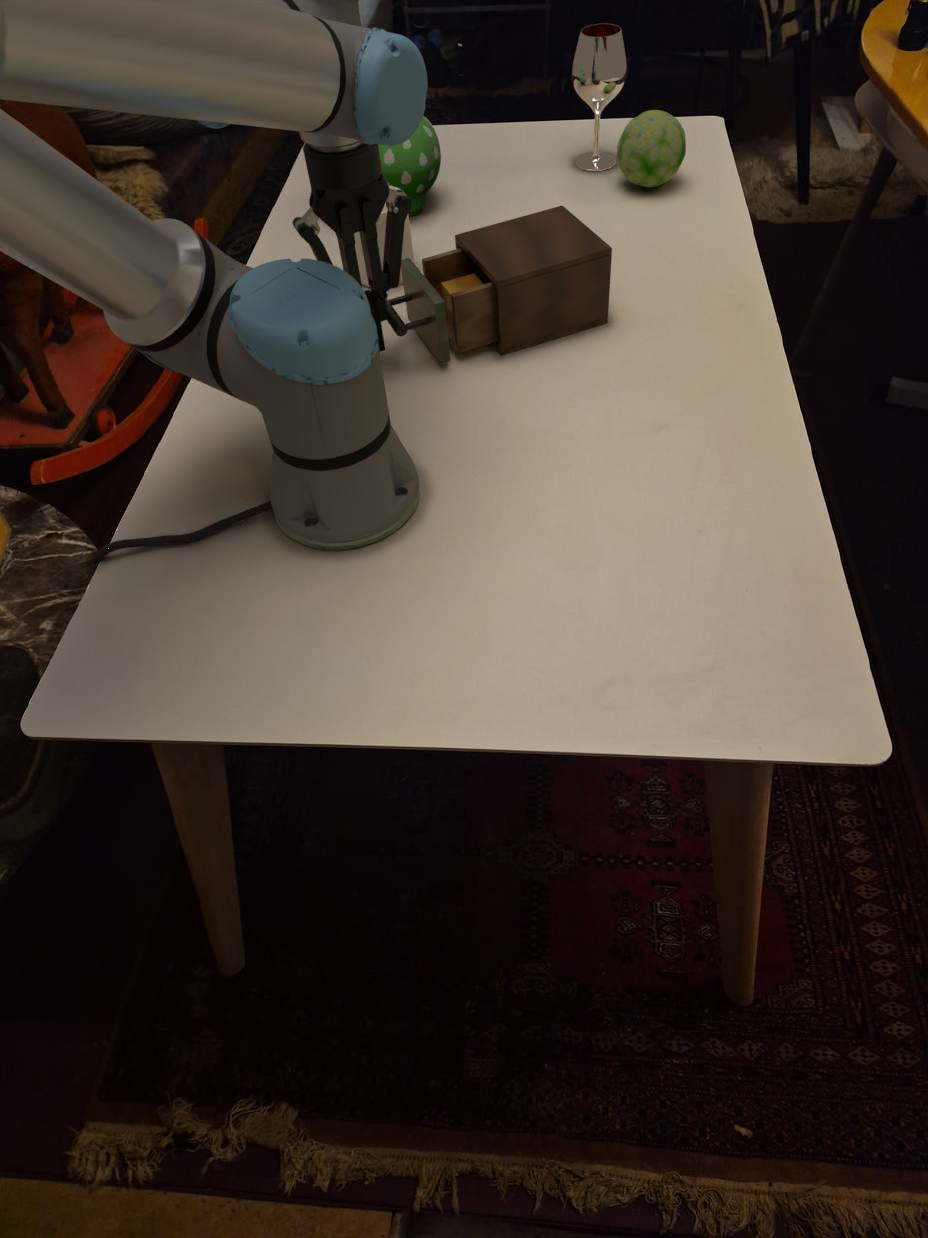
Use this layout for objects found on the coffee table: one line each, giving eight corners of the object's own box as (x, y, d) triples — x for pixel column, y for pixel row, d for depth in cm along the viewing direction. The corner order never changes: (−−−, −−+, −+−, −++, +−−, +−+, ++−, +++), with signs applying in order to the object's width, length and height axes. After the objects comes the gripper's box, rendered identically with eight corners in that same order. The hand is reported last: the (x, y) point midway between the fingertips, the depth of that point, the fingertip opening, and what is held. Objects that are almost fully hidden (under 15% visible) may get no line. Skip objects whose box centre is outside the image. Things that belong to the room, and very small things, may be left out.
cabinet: (500, 355, 103) (497, 281, 96) (460, 307, 111) (454, 234, 104) (607, 322, 106) (612, 247, 99) (561, 277, 114) (562, 204, 107)
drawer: (407, 374, 101) (398, 314, 95) (375, 328, 108) (365, 269, 102) (543, 332, 104) (543, 272, 98) (504, 290, 111) (502, 231, 105)
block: (457, 332, 104) (454, 299, 100) (444, 315, 106) (440, 282, 103) (490, 322, 105) (488, 289, 101) (476, 306, 107) (474, 272, 104)
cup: (348, 288, 116) (334, 213, 108) (371, 245, 124) (359, 172, 116) (407, 290, 115) (397, 214, 107) (427, 246, 122) (419, 172, 114)
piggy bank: (334, 188, 137) (315, 83, 125) (447, 181, 135) (438, 74, 124) (321, 231, 128) (299, 122, 116) (442, 224, 126) (431, 113, 115)
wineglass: (607, 177, 132) (614, 42, 118) (560, 168, 135) (561, 36, 121) (630, 156, 136) (639, 23, 122) (583, 148, 139) (587, 18, 126)
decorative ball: (684, 197, 126) (693, 124, 118) (616, 200, 127) (620, 127, 119) (679, 168, 132) (687, 96, 124) (613, 171, 133) (617, 100, 125)
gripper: (286, 167, 81) (334, 378, 100) (413, 134, 84) (437, 346, 102) (266, 139, 86) (315, 346, 104) (387, 109, 89) (415, 316, 107)
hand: (376, 346), depth 103 cm, fingers closed
